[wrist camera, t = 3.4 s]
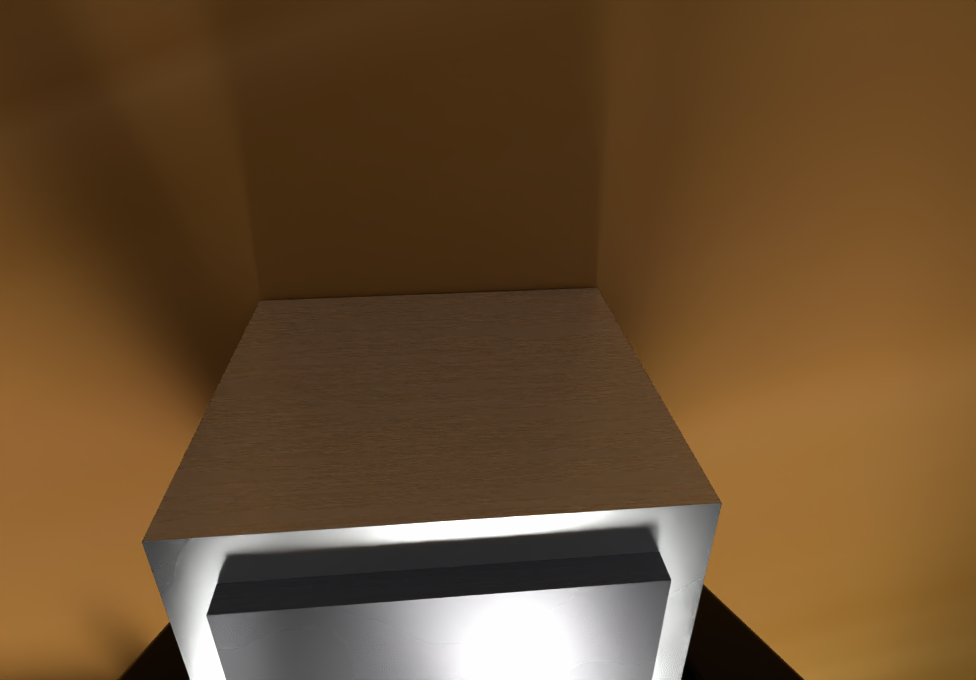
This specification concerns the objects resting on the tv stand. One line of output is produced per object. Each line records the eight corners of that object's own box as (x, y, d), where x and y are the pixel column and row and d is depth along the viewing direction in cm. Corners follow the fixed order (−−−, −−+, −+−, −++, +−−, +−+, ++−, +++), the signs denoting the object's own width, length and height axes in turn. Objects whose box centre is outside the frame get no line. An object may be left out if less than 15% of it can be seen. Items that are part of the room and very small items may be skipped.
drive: (567, 627, 12) (635, 930, 8) (324, 647, 12) (277, 973, 8) (597, 287, 9) (737, 530, 5) (260, 300, 9) (126, 573, 5)
